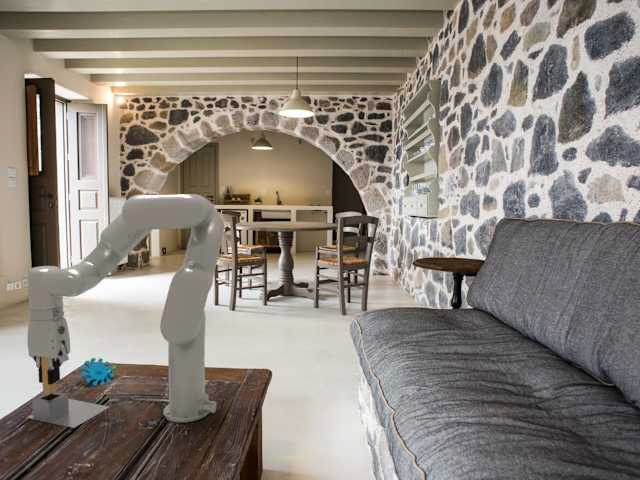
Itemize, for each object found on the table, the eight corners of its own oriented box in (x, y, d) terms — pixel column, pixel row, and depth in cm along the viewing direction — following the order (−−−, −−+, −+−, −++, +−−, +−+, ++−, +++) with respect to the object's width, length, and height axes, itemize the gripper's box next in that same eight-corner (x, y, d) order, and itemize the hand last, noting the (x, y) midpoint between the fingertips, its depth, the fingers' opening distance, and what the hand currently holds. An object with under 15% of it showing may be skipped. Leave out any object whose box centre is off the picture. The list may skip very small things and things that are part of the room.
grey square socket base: (110, 409, 124) (109, 389, 124) (74, 430, 113) (73, 408, 112) (65, 400, 129) (64, 381, 129) (26, 420, 118) (25, 399, 117)
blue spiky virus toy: (88, 387, 134) (78, 359, 139) (79, 397, 137) (70, 369, 141) (122, 380, 144) (112, 353, 148) (113, 390, 146) (103, 363, 150)
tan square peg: (56, 390, 119) (55, 354, 118) (49, 394, 117) (48, 357, 116) (49, 389, 120) (48, 353, 119) (42, 393, 118) (41, 356, 117)
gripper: (82, 313, 118) (85, 380, 119) (36, 307, 122) (39, 372, 124) (57, 320, 110) (60, 392, 112) (10, 314, 115) (13, 382, 117)
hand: (49, 381), depth 118 cm, fingers closed on tan square peg, 2 cm apart
